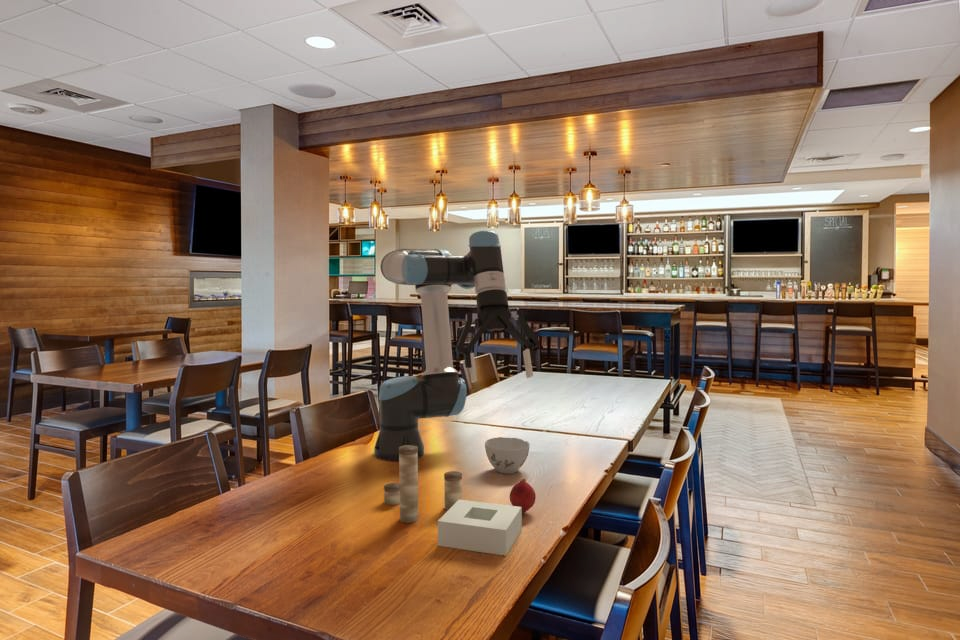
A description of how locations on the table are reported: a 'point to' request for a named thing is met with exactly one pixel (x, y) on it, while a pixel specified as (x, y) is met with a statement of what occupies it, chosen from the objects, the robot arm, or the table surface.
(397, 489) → the short dowel
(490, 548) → the hole block
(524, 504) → the onion
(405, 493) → the long dowel
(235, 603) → the table surface
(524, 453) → the teacup
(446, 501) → the medium dowel
